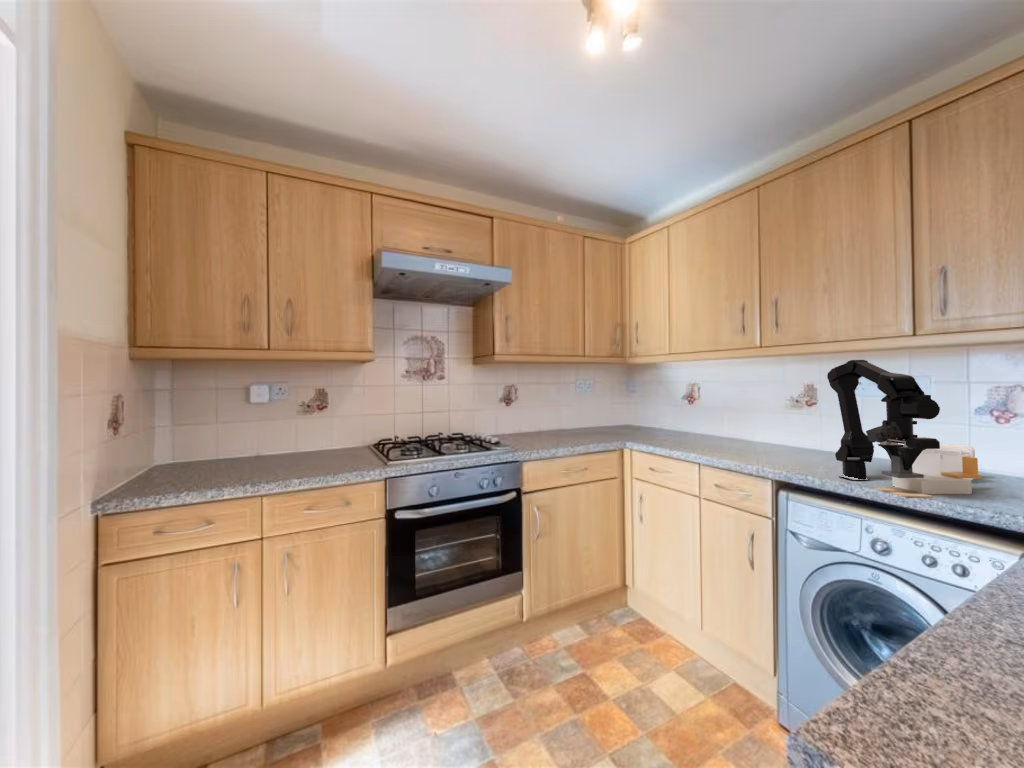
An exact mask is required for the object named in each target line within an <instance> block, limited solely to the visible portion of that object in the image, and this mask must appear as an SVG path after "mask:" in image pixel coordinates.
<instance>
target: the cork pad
mask: <svg viewBox="0 0 1024 768" xmlns="http://www.w3.org/2000/svg"><path fill="white" fill-rule="evenodd" d="M875 490H877V491H881V492H885V493H887V494H891V495H894V496H900V497H902V498H905V499H929V498H930V499H933V495H932V494H923V493H919V492H915V491H911V490H907V489H903V488H899V487H893V486H892V487H875Z"/></svg>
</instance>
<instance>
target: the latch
mask: <svg viewBox="0 0 1024 768" xmlns="http://www.w3.org/2000/svg"><path fill="white" fill-rule="evenodd" d="M978 460H979V459H978V457H975V458H973V457H962V467H963V472H941V475H944V476H949V477H954V478H974V479H982V478H983V475H982V474H979V464H978V462H979V461H978Z"/></svg>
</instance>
